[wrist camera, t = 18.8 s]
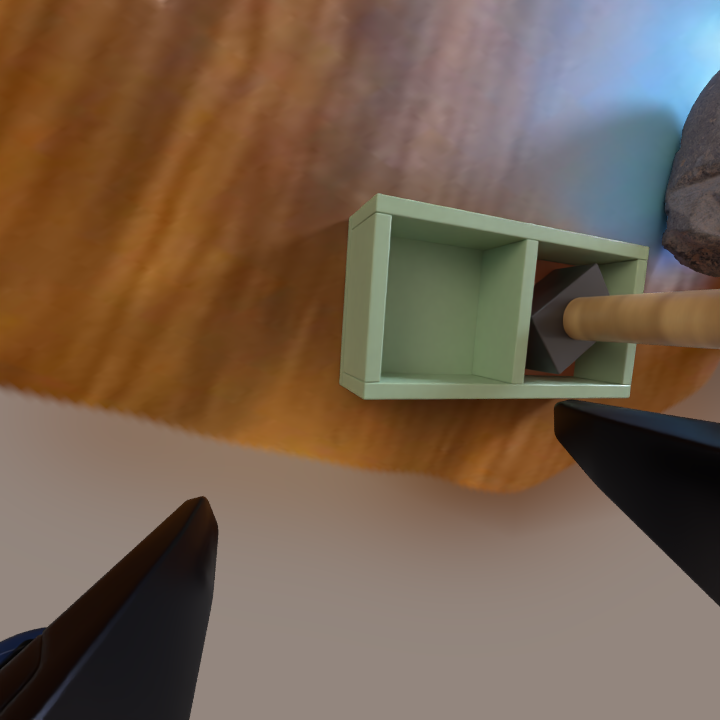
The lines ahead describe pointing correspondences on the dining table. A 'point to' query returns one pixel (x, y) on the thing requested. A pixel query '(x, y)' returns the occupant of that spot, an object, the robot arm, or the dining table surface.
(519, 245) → the divided tray
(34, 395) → the dining table surface
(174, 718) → the robot arm
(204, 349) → the dining table surface
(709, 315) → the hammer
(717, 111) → the perforated stone tool
